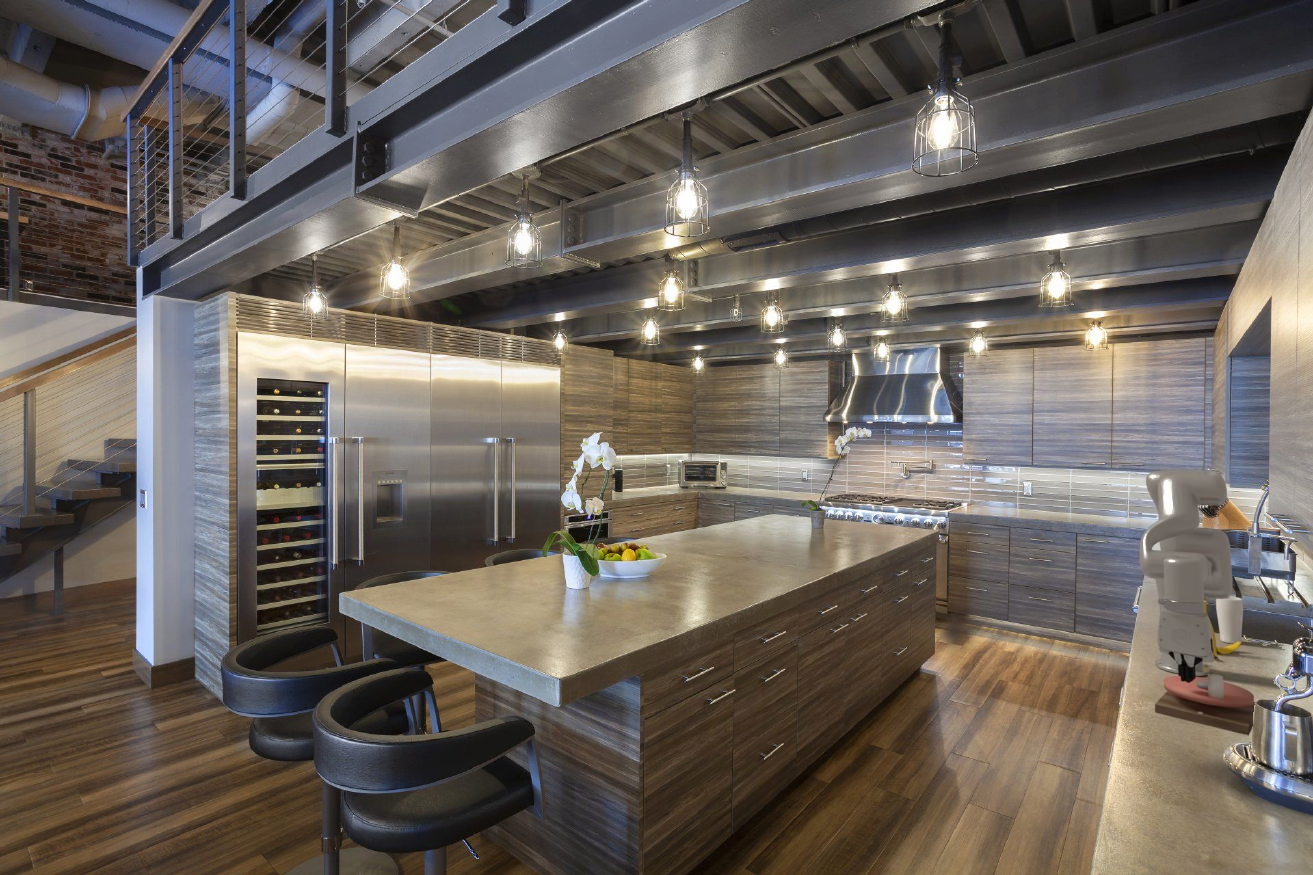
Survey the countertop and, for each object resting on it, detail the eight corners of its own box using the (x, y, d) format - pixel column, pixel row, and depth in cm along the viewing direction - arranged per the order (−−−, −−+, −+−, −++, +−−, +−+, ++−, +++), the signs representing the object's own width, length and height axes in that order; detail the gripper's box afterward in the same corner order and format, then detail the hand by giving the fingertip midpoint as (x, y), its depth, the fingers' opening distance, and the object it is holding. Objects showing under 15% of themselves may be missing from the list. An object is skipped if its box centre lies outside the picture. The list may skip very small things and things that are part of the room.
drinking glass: (1250, 645, 209) (1248, 599, 209) (1229, 645, 209) (1227, 600, 209) (1231, 639, 216) (1230, 595, 216) (1212, 639, 216) (1210, 595, 216)
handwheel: (1174, 700, 153) (1173, 673, 153) (1156, 677, 168) (1155, 653, 169) (1266, 712, 146) (1265, 683, 146) (1238, 687, 161) (1237, 661, 161)
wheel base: (1173, 691, 170) (1173, 676, 170) (1261, 711, 157) (1260, 694, 157) (1155, 712, 157) (1154, 695, 157) (1248, 735, 144) (1247, 716, 144)
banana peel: (1165, 642, 213) (1164, 593, 214) (1241, 651, 203) (1239, 600, 203) (1171, 656, 200) (1169, 603, 200) (1252, 666, 189) (1250, 611, 189)
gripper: (1142, 603, 160) (1144, 675, 160) (1218, 615, 147) (1221, 693, 147) (1154, 598, 164) (1156, 669, 164) (1228, 610, 152) (1231, 686, 151)
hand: (1187, 680), depth 155 cm, fingers closed
